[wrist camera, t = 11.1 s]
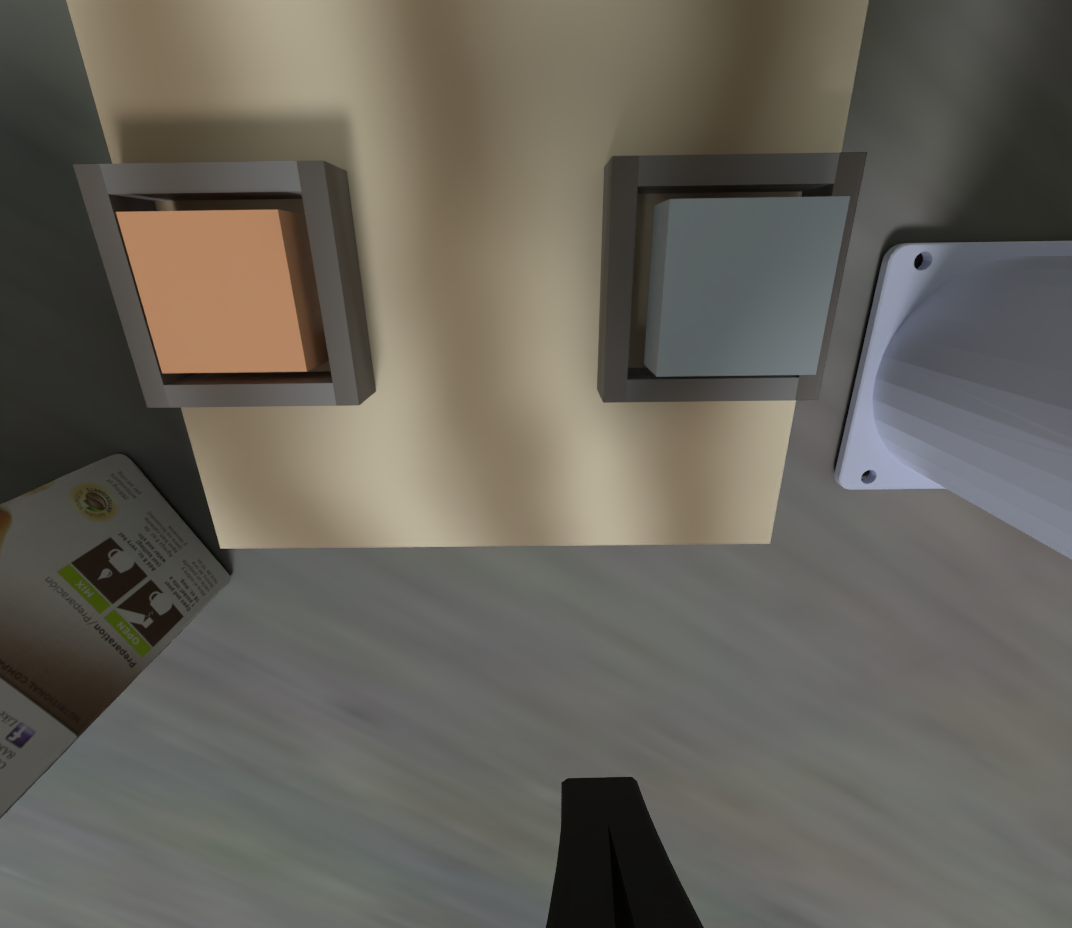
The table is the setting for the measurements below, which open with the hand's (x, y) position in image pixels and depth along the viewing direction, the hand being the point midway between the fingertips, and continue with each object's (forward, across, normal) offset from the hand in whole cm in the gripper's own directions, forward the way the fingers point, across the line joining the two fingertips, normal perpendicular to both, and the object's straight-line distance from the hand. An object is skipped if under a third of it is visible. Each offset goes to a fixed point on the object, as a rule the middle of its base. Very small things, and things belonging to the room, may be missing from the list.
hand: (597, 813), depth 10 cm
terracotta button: (+8, +8, -9) cm, 15 cm away
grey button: (+6, -4, -9) cm, 12 cm away
